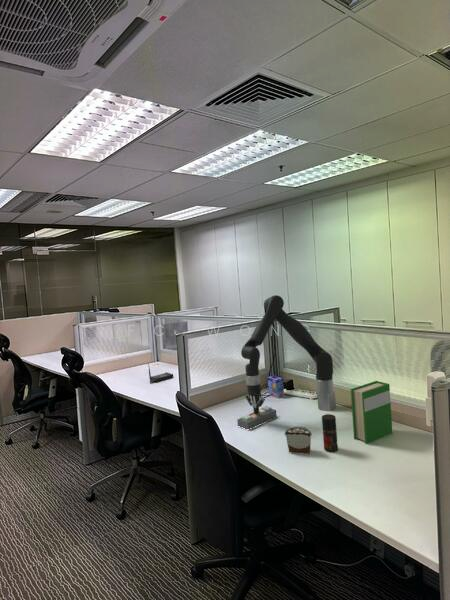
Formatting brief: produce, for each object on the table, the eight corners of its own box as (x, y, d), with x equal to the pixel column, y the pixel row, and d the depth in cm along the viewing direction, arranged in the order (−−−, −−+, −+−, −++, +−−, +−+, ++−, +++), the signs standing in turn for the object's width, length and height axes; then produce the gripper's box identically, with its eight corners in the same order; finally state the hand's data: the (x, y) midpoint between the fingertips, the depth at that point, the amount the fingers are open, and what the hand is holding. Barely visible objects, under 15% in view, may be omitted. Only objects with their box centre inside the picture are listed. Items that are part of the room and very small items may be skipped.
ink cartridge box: (268, 395, 254) (266, 373, 253) (275, 393, 257) (273, 371, 256) (277, 398, 245) (275, 376, 244) (284, 396, 248) (282, 374, 247)
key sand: (265, 415, 213) (265, 410, 213) (260, 417, 210) (260, 412, 210) (260, 414, 216) (259, 408, 216) (255, 416, 213) (254, 411, 213)
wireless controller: (165, 376, 327) (163, 356, 325) (174, 379, 316) (172, 358, 315) (144, 382, 314) (142, 361, 313) (152, 385, 303) (150, 364, 302)
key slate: (271, 412, 216) (271, 407, 216) (267, 414, 214) (266, 409, 213) (266, 411, 219) (266, 406, 219) (261, 413, 217) (261, 408, 216)
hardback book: (366, 444, 175) (363, 392, 173) (354, 438, 181) (350, 389, 179) (392, 433, 183) (389, 383, 181) (379, 428, 190) (376, 380, 188)
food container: (315, 448, 176) (313, 426, 175) (313, 454, 170) (312, 432, 169) (288, 446, 180) (286, 425, 179) (285, 452, 174) (284, 431, 173)
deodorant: (322, 446, 176) (320, 414, 175) (335, 445, 176) (333, 413, 175) (325, 452, 170) (323, 419, 169) (339, 451, 170) (337, 418, 169)
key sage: (252, 421, 206) (251, 416, 206) (247, 424, 203) (246, 418, 203) (247, 420, 209) (246, 414, 209) (241, 422, 207) (241, 416, 206)
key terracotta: (259, 420, 210) (258, 415, 209) (254, 423, 207) (253, 417, 207) (254, 419, 213) (253, 414, 212) (248, 421, 210) (248, 416, 210)
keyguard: (276, 416, 216) (276, 409, 216) (248, 430, 201) (247, 423, 201) (266, 413, 222) (265, 406, 222) (237, 426, 207) (237, 419, 207)
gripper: (267, 382, 206) (270, 414, 208) (249, 379, 216) (252, 409, 218) (257, 386, 201) (260, 418, 203) (240, 382, 211) (243, 413, 213)
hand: (256, 413), depth 210 cm, fingers closed
